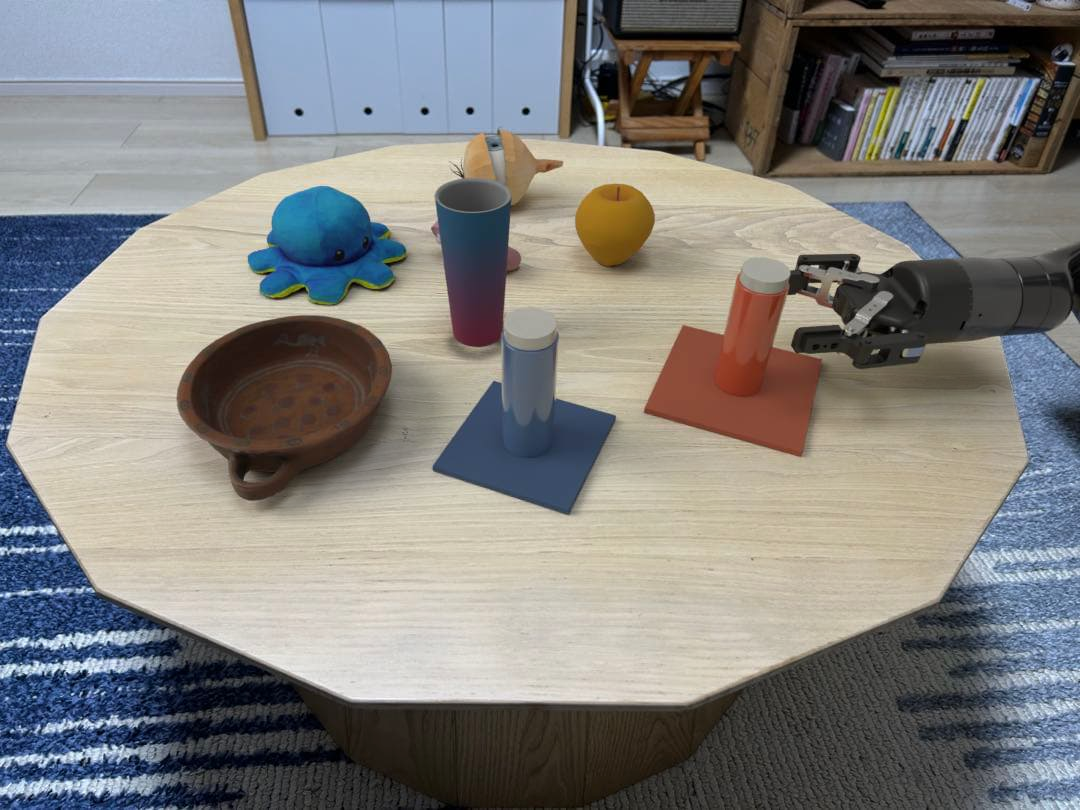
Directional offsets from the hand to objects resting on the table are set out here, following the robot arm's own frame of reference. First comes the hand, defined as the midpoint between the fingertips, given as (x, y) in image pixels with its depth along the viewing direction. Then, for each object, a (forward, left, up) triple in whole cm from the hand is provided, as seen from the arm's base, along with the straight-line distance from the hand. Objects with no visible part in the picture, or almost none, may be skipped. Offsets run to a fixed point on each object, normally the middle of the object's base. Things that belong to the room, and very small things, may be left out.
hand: (775, 311), depth 67 cm
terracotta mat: (+2, +1, -8) cm, 9 cm away
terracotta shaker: (+2, +1, -8) cm, 8 cm away
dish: (+37, +21, -9) cm, 43 cm away
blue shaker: (+17, +16, -8) cm, 24 cm away
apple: (+20, -16, -9) cm, 27 cm away
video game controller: (+34, -9, -9) cm, 36 cm away
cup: (+28, +3, -9) cm, 29 cm away
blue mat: (+17, +16, -8) cm, 25 cm away
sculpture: (+37, -24, -9) cm, 45 cm away
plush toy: (+49, -2, -9) cm, 49 cm away
